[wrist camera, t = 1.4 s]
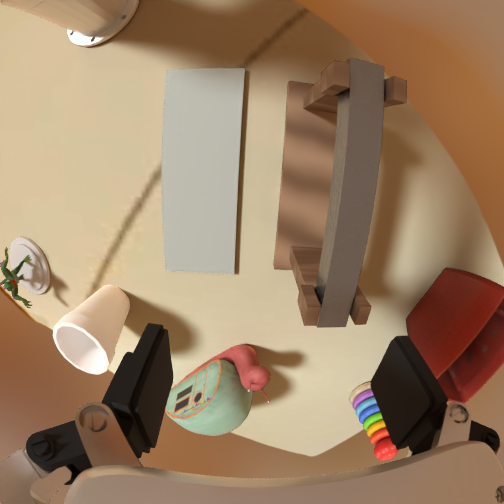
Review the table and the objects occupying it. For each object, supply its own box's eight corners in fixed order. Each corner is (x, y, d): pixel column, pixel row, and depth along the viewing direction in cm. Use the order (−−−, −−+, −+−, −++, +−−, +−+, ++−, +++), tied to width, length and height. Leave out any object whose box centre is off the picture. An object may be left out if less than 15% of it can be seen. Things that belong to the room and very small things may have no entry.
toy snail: (191, 401, 51) (182, 454, 39) (163, 384, 49) (148, 438, 37) (280, 346, 45) (288, 410, 32) (248, 322, 43) (248, 388, 30)
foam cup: (98, 266, 39) (56, 309, 27) (145, 295, 41) (115, 348, 29) (87, 305, 42) (51, 350, 30) (128, 331, 44) (102, 383, 32)
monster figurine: (59, 289, 41) (29, 319, 31) (26, 294, 42) (-1, 320, 32) (36, 230, 36) (-1, 252, 27) (5, 242, 37) (-27, 263, 28)
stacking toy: (343, 402, 52) (361, 470, 35) (356, 380, 49) (382, 452, 32) (371, 400, 53) (394, 463, 36) (386, 378, 50) (415, 444, 33)
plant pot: (381, 326, 44) (420, 394, 28) (445, 242, 38) (509, 288, 22) (430, 352, 48) (464, 405, 32) (483, 285, 41) (529, 328, 26)
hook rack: (287, 83, 29) (316, 40, 15) (354, 94, 30) (419, 70, 15) (273, 264, 39) (286, 338, 24) (333, 267, 39) (373, 335, 24)
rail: (339, 66, 18) (350, 57, 16) (369, 73, 19) (384, 66, 16) (311, 310, 28) (316, 327, 25) (337, 310, 28) (345, 326, 25)
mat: (168, 71, 28) (166, 70, 28) (245, 70, 29) (244, 68, 28) (167, 268, 39) (165, 270, 38) (234, 272, 39) (234, 274, 38)
